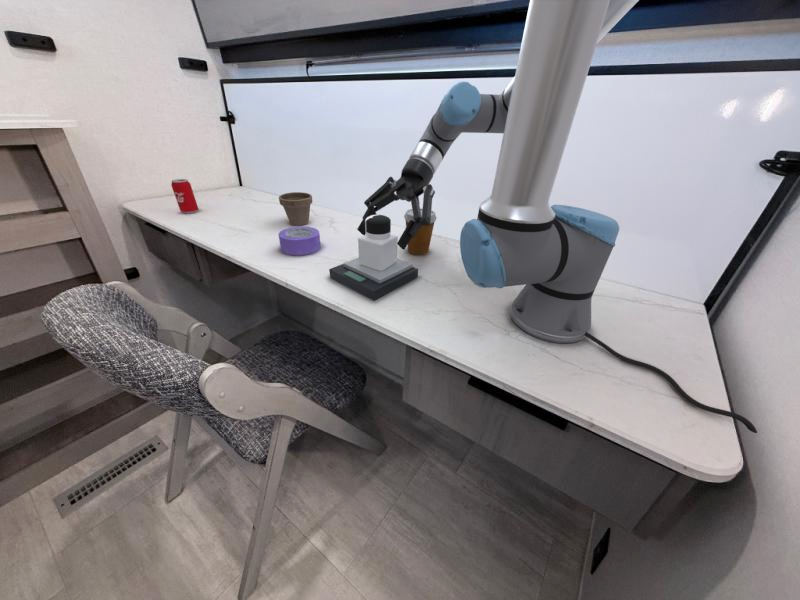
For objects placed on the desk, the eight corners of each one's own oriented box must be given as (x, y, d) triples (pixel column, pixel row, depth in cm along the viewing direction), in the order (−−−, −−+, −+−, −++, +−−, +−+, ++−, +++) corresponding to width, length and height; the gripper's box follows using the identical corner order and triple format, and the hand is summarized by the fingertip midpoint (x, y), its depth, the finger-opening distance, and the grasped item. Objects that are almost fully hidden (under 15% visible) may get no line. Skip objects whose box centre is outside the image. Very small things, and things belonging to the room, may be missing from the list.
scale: (417, 277, 79) (418, 265, 78) (373, 300, 69) (373, 287, 67) (374, 259, 88) (374, 248, 86) (329, 277, 78) (328, 265, 76)
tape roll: (327, 243, 97) (326, 228, 95) (308, 258, 88) (306, 241, 85) (294, 239, 100) (292, 224, 97) (273, 252, 90) (269, 236, 88)
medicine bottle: (397, 262, 79) (398, 216, 73) (381, 272, 74) (381, 223, 67) (375, 255, 82) (374, 210, 76) (358, 264, 77) (356, 217, 71)
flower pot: (307, 229, 108) (303, 200, 103) (277, 227, 110) (272, 198, 104) (319, 220, 118) (316, 193, 113) (292, 217, 119) (288, 191, 114)
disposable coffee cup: (431, 258, 90) (435, 218, 83) (400, 255, 91) (401, 215, 85) (434, 247, 98) (438, 209, 91) (405, 244, 99) (407, 206, 93)
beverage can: (183, 210, 124) (172, 178, 117) (200, 209, 125) (190, 178, 119) (179, 214, 119) (167, 182, 112) (197, 213, 120) (186, 181, 114)
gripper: (468, 184, 73) (426, 261, 71) (391, 170, 86) (354, 234, 85) (459, 162, 67) (413, 245, 65) (378, 151, 80) (337, 219, 78)
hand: (379, 239), depth 75 cm, fingers open, 13 cm apart
